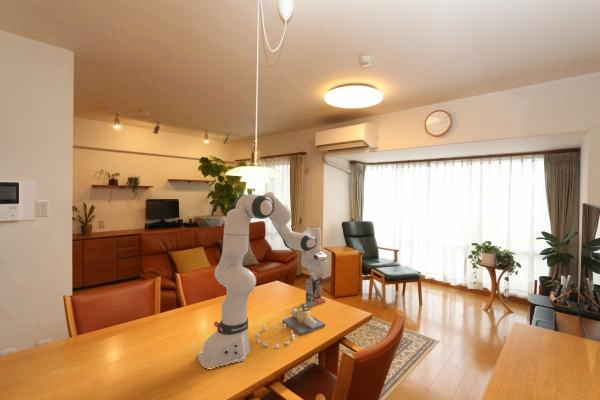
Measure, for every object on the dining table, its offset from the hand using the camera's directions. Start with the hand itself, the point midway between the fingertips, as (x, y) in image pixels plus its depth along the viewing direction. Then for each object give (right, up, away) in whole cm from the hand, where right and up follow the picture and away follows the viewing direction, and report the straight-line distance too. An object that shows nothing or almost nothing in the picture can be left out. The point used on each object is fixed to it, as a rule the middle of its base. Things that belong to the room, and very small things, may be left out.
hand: (313, 277), depth 159 cm
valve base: (-6, -22, -11) cm, 25 cm away
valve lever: (-1, -13, -8) cm, 15 cm away
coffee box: (+1, -22, +17) cm, 27 cm away
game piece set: (-20, -23, -24) cm, 39 cm away
